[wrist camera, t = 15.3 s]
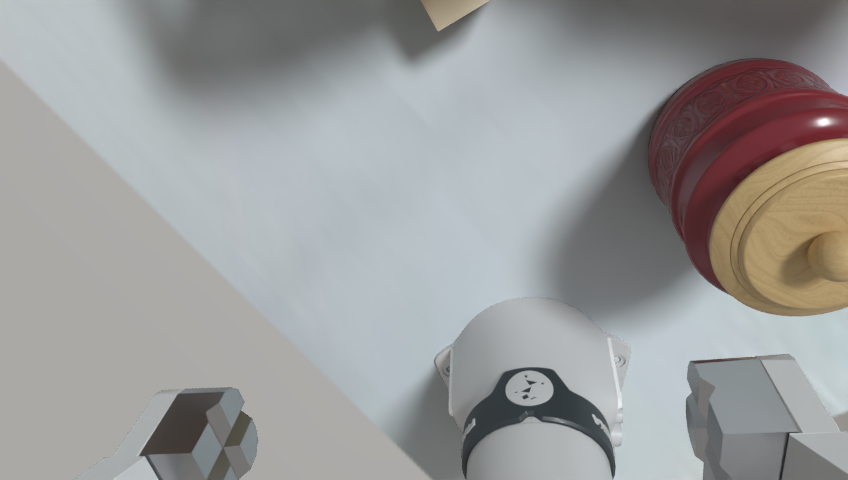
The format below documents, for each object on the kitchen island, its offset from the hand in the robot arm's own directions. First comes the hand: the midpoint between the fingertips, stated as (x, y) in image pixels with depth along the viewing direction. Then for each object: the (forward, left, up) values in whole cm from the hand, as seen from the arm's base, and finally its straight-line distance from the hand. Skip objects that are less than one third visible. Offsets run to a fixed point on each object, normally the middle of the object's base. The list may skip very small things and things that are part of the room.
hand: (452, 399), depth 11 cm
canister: (-12, -17, -37) cm, 43 cm away
